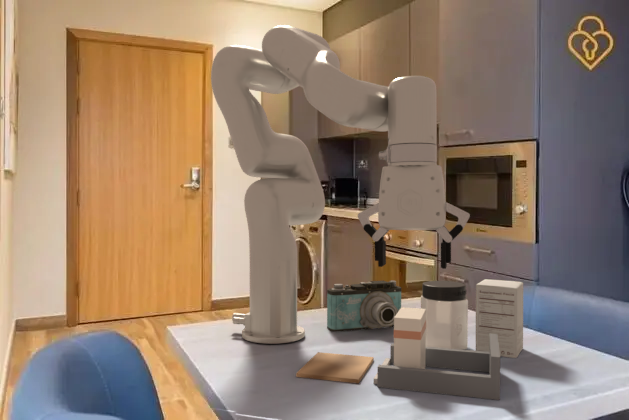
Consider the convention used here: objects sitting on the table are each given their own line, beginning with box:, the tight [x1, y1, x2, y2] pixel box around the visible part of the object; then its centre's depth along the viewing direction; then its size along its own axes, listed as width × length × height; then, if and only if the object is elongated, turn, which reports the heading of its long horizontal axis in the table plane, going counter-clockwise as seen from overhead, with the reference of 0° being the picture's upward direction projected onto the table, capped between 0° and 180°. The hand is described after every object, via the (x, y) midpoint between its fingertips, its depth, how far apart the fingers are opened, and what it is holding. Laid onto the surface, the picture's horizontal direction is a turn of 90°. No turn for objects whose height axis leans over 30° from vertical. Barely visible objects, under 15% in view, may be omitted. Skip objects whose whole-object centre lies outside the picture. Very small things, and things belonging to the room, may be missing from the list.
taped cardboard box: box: [393, 306, 426, 369], centre depth 85 cm, size 4×8×10 cm, turn 163°
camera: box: [326, 280, 402, 333], centre depth 114 cm, size 16×10×10 cm, turn 109°
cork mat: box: [295, 351, 375, 384], centre depth 89 cm, size 10×12×1 cm
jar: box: [420, 280, 469, 350], centre depth 102 cm, size 9×8×12 cm
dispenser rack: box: [373, 334, 501, 401], centre depth 84 cm, size 18×13×6 cm
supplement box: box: [475, 278, 524, 359], centre depth 100 cm, size 7×7×13 cm
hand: (412, 266), depth 85 cm, fingers open, 9 cm apart
